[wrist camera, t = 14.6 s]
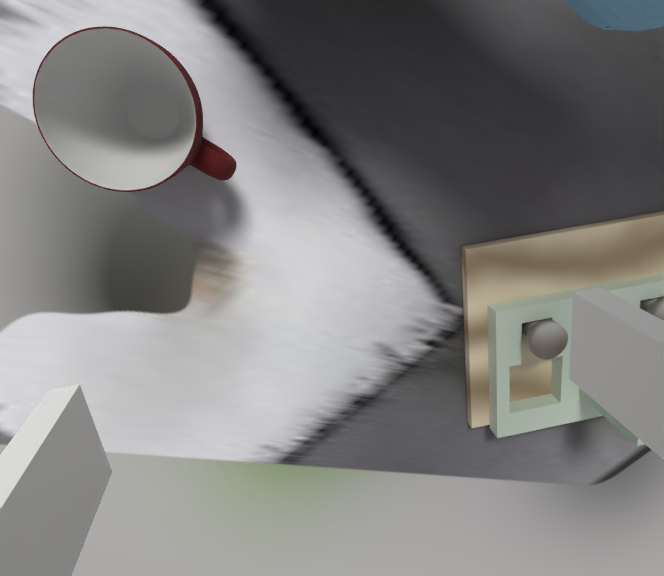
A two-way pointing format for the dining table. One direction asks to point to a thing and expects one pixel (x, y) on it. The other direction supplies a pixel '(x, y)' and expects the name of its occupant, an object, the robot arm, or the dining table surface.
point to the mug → (122, 111)
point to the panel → (565, 395)
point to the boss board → (547, 292)
